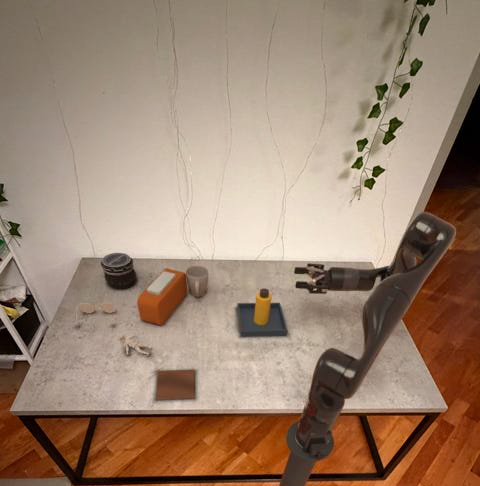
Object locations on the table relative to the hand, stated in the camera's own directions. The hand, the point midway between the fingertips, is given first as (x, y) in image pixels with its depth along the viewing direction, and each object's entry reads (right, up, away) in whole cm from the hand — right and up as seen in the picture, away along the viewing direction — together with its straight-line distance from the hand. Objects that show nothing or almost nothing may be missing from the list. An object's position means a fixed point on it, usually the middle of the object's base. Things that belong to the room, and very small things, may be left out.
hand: (295, 277), depth 115 cm
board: (-40, -37, -6) cm, 55 cm away
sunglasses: (-73, -11, +12) cm, 74 cm away
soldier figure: (-55, -24, +4) cm, 60 cm away
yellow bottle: (-11, -10, +16) cm, 22 cm away
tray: (-11, -11, +16) cm, 22 cm away
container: (-69, +9, +28) cm, 75 cm away
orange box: (-48, -4, +19) cm, 52 cm away
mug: (-36, +2, +25) cm, 44 cm away
